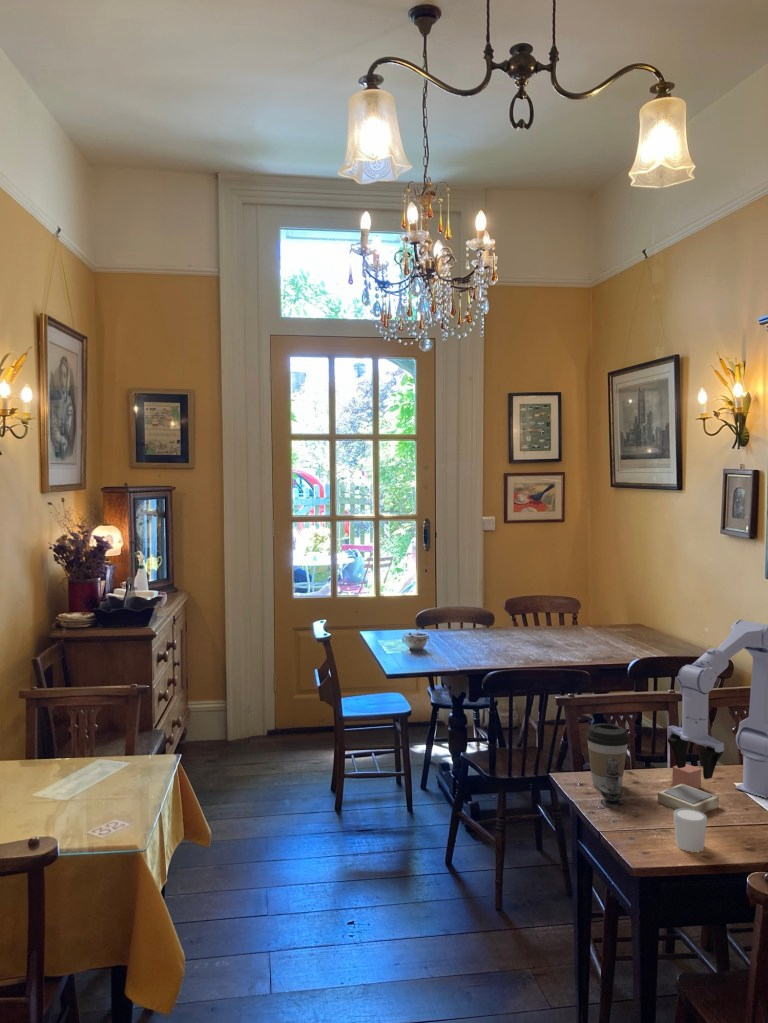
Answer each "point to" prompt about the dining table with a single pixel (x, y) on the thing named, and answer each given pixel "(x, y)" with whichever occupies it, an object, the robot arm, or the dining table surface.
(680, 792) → the base
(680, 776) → the block
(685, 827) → the shot glass
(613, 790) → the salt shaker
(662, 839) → the dining table surface
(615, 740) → the coffee cup
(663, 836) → the dining table surface
